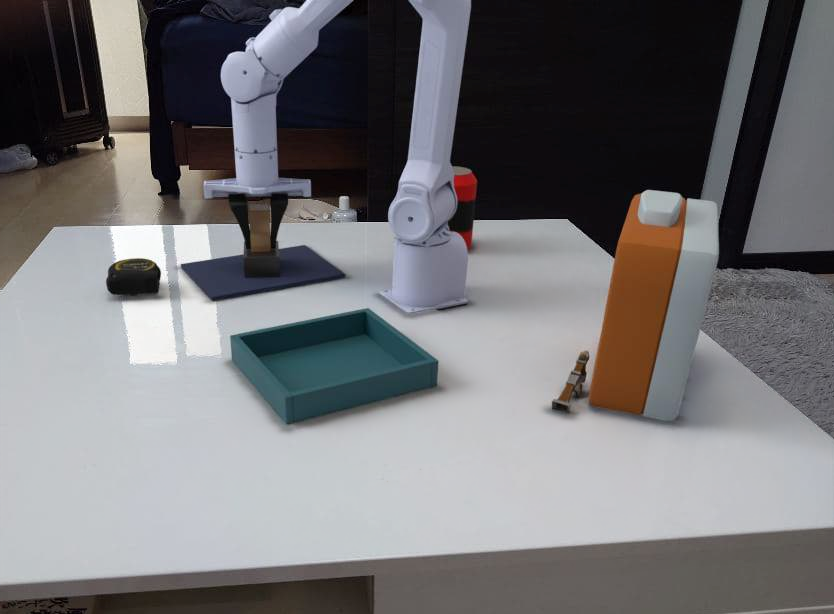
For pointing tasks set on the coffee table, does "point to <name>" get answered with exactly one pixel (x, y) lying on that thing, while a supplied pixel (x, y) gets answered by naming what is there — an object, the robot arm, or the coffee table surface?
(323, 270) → the pad
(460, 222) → the soda can
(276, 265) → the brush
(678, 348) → the orange and white box
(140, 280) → the tape measure
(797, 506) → the coffee table surface
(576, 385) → the wooden post with brackets
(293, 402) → the tray
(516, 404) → the coffee table surface
